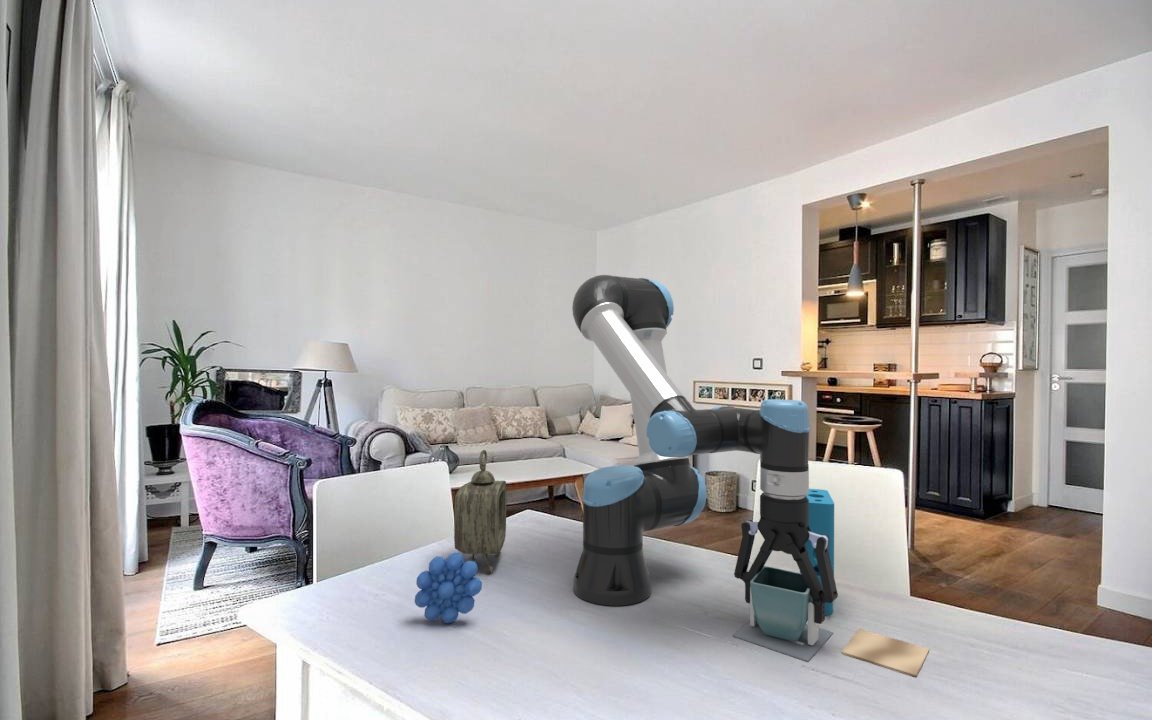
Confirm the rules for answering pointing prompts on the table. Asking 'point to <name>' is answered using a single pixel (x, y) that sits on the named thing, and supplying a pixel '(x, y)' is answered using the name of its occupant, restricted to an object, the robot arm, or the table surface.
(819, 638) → the tile
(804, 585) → the flower pot
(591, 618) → the table surface
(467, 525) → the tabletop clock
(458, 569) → the blue ball flower
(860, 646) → the cork mat
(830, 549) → the block
